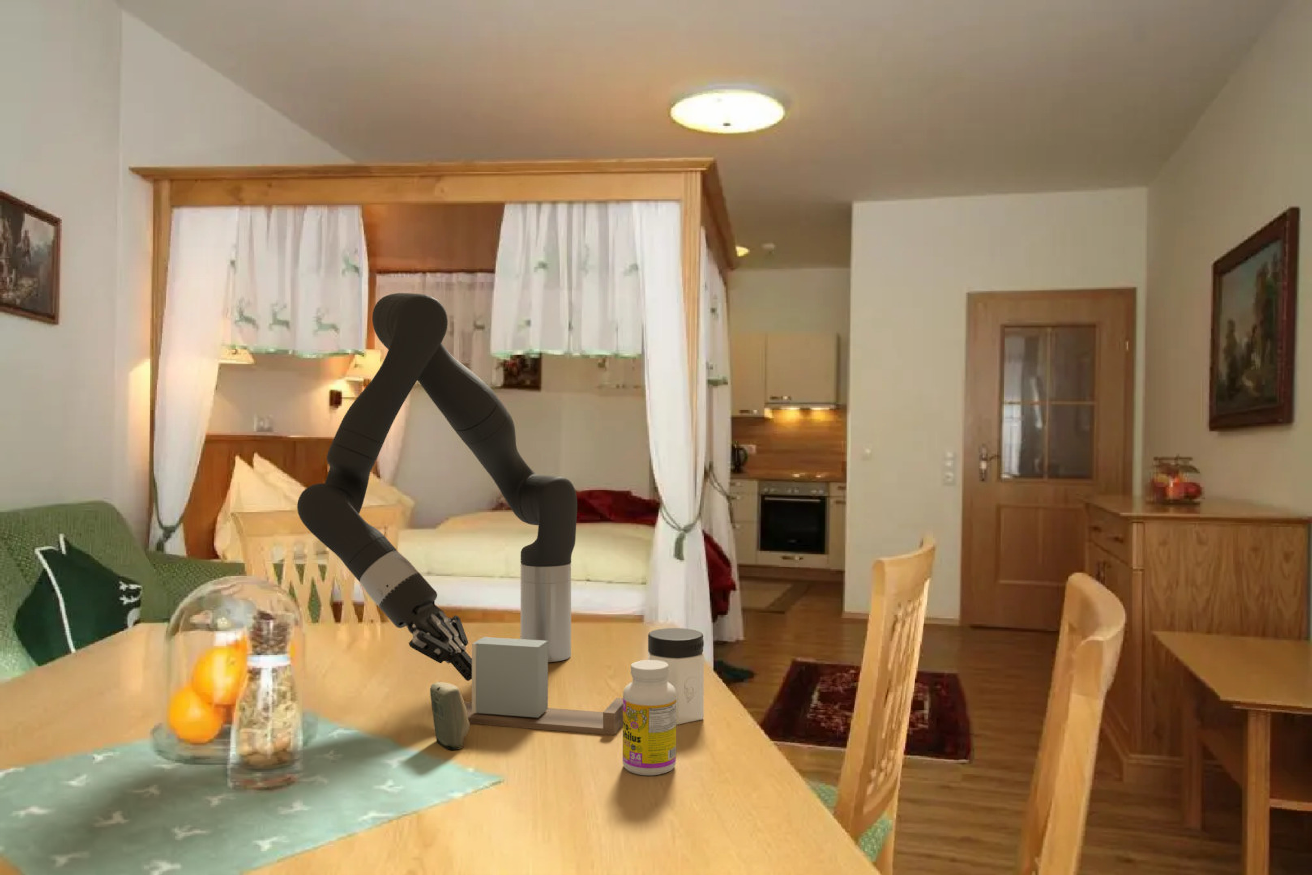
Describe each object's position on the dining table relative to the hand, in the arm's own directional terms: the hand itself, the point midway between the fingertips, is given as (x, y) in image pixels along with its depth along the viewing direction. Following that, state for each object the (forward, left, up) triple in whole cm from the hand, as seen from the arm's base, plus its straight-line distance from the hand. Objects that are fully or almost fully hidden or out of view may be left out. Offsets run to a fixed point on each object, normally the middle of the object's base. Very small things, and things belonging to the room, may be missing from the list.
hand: (474, 675), depth 135 cm
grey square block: (0, +6, -5) cm, 7 cm away
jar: (-7, +29, -6) cm, 30 cm away
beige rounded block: (+12, +1, -6) cm, 14 cm away
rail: (0, +8, -6) cm, 10 cm away
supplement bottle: (+14, +30, -6) cm, 33 cm away
